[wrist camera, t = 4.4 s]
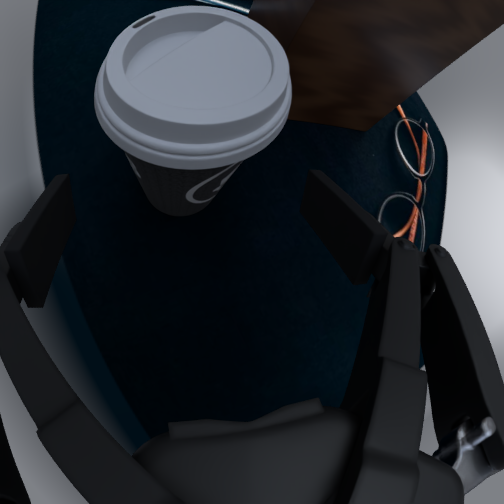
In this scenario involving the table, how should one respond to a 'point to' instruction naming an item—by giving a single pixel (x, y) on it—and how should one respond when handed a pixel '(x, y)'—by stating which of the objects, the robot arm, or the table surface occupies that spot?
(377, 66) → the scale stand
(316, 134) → the table surface
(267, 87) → the coffee cup
